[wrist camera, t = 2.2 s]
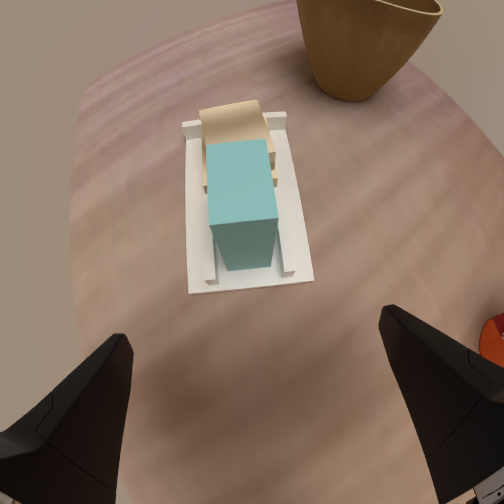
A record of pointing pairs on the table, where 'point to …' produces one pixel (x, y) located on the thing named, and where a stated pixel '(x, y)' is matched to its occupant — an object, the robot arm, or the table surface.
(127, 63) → the table surface
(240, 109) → the offcut upper
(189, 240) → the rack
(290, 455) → the table surface
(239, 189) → the teal rectangular block
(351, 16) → the plant pot
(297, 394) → the table surface
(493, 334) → the paper cup
